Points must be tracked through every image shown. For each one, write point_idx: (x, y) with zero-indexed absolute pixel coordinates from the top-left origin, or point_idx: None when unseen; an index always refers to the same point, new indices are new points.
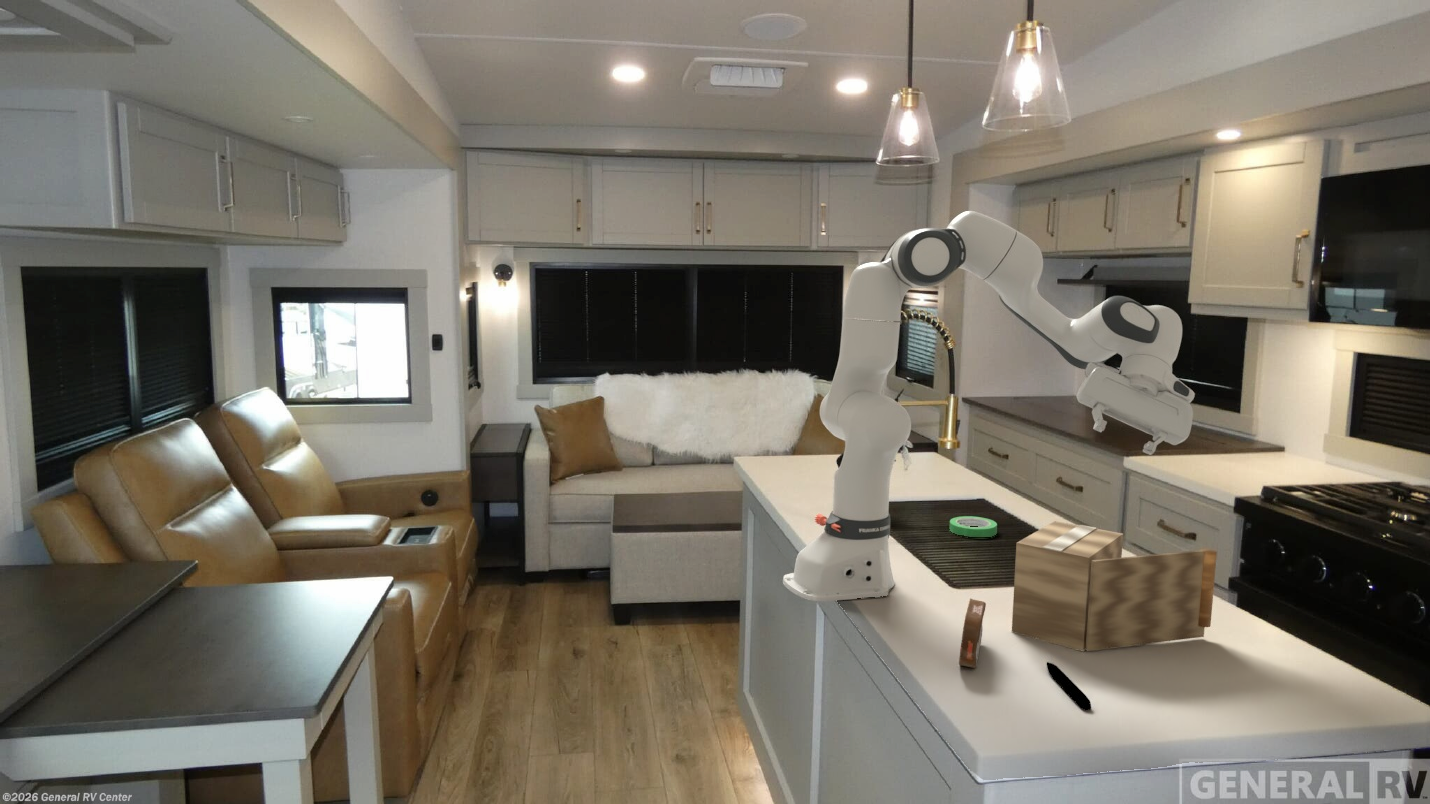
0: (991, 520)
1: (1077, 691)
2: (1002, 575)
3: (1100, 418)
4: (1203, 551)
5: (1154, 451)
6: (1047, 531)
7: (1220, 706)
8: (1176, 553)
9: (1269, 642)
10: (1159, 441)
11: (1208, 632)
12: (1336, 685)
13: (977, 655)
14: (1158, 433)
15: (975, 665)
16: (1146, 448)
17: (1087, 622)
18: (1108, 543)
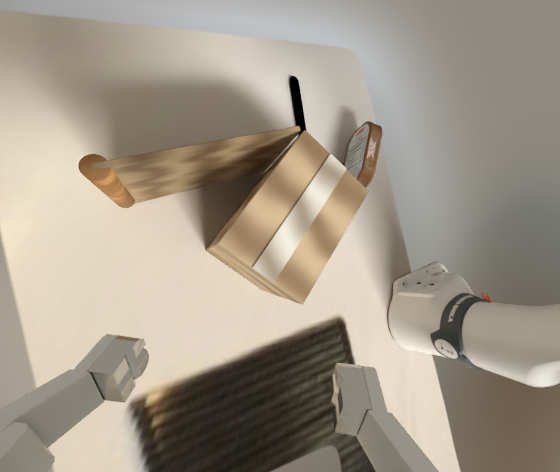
0: None
1: (297, 89)
2: (290, 374)
3: (382, 411)
4: (109, 160)
5: (107, 334)
6: (325, 244)
7: (190, 68)
8: (168, 151)
9: (37, 194)
10: (48, 386)
11: (108, 221)
12: (31, 85)
13: (346, 158)
14: (15, 449)
15: (352, 136)
16: (140, 342)
17: (272, 161)
18: (260, 189)
